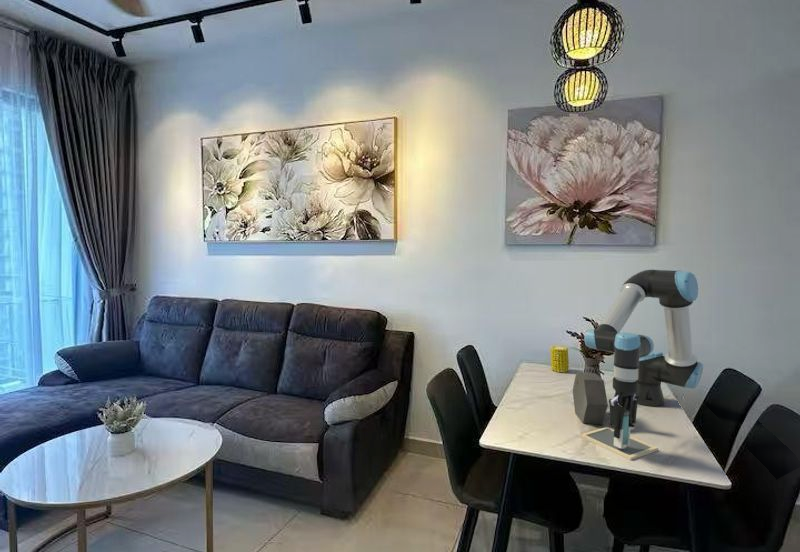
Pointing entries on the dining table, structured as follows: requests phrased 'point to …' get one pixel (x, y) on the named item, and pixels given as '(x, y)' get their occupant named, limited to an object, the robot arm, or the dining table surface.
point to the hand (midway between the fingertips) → (621, 445)
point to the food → (559, 358)
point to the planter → (589, 398)
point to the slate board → (606, 440)
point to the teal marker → (625, 428)
